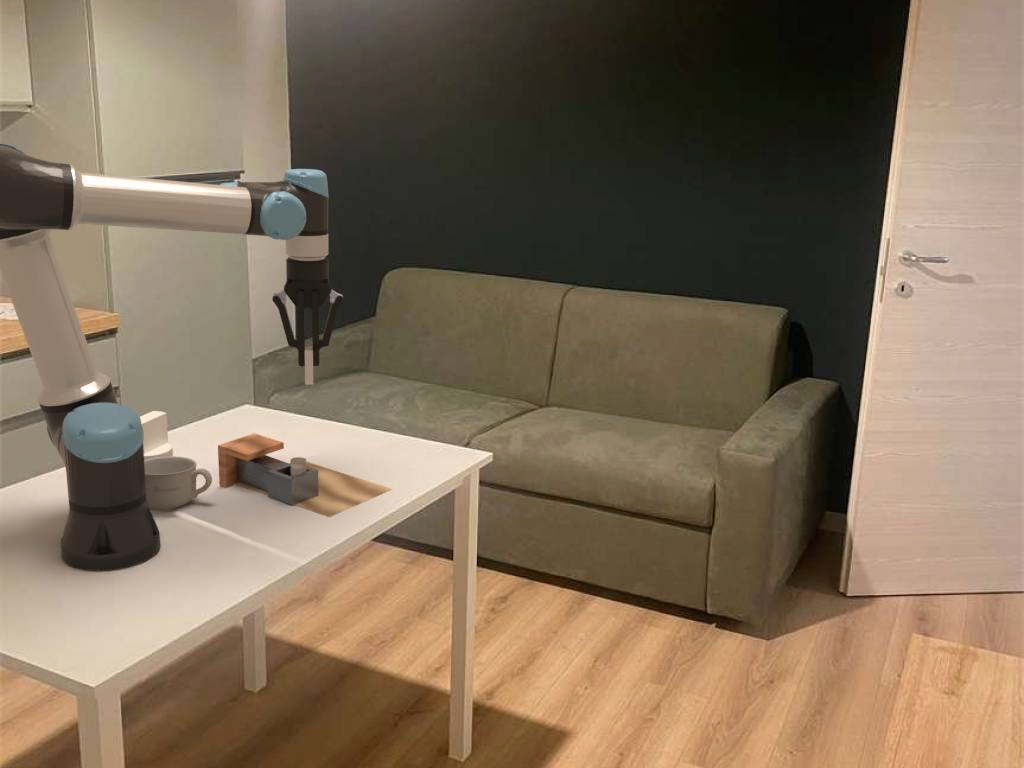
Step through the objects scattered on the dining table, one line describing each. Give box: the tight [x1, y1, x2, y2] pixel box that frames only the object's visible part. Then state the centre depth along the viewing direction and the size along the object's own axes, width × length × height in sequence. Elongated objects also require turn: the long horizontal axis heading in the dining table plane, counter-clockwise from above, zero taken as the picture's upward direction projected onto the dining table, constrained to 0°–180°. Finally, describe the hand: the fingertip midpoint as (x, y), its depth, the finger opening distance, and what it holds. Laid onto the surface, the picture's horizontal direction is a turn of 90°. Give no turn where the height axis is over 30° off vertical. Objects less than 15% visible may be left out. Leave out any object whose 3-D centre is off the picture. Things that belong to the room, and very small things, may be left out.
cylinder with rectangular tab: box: [139, 410, 174, 460], centre depth 201 cm, size 9×9×12 cm
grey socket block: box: [238, 454, 319, 507], centre depth 196 cm, size 16×6×5 cm, turn 53°
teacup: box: [144, 455, 213, 512], centre depth 188 cm, size 14×11×8 cm
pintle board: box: [217, 433, 393, 518], centre depth 198 cm, size 18×28×8 cm, turn 55°
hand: (309, 382), depth 196 cm, fingers closed
